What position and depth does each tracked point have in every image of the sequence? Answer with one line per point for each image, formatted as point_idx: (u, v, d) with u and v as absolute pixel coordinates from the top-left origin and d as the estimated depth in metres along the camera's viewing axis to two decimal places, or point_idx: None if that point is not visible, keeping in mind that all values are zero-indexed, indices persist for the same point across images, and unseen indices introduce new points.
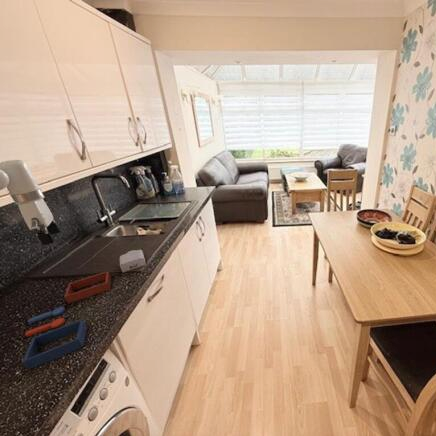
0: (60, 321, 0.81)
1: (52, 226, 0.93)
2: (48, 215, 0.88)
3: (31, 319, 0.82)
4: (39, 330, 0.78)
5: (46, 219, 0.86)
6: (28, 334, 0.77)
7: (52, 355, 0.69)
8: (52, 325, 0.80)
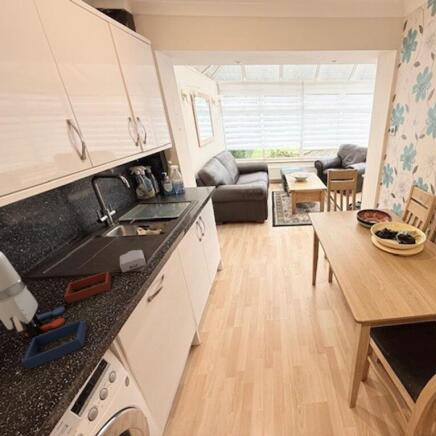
0: (60, 321, 0.81)
1: (35, 323, 0.78)
2: (31, 306, 0.75)
3: None
4: None
5: (28, 313, 0.73)
6: None
7: (52, 355, 0.69)
8: (52, 325, 0.80)
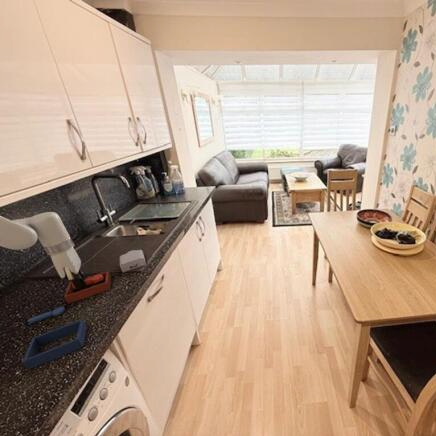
0: (99, 276, 0.96)
1: None
2: (77, 261, 0.90)
3: (31, 319, 0.82)
4: None
5: (76, 266, 0.88)
6: None
7: (52, 355, 0.69)
8: (93, 279, 0.95)
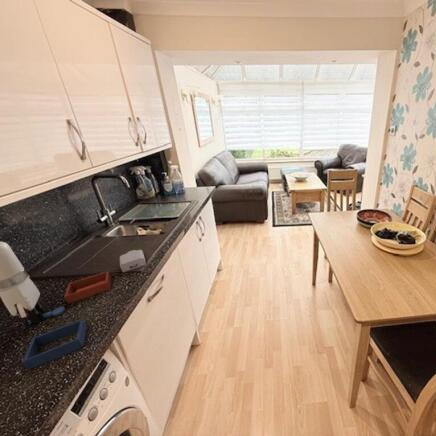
0: None
1: (38, 311, 0.83)
2: (33, 295, 0.80)
3: None
4: None
5: (31, 301, 0.78)
6: None
7: (52, 355, 0.69)
8: None
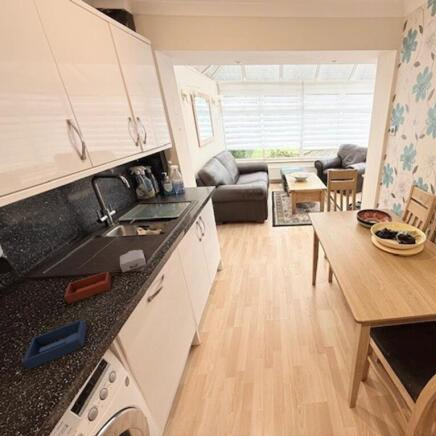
0: None
1: (2, 263, 0.67)
2: None
3: (42, 349, 0.71)
4: None
5: None
6: None
7: (52, 355, 0.69)
8: None
